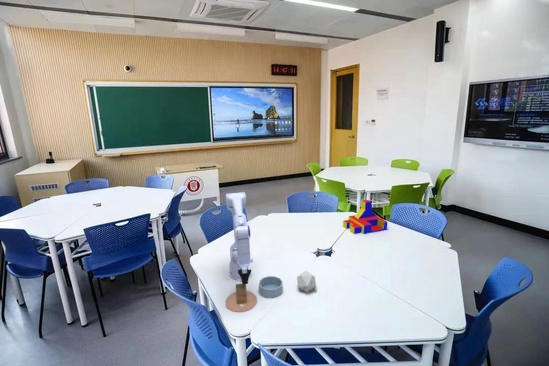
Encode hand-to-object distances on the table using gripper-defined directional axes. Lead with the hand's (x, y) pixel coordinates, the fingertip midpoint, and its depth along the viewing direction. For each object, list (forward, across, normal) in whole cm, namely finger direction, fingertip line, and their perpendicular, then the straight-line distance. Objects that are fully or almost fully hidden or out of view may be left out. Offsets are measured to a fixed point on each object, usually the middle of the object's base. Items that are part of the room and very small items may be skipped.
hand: (244, 278), depth 128 cm
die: (+10, +2, -29) cm, 31 cm away
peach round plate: (+10, -3, +2) cm, 10 cm away
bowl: (+10, +3, -12) cm, 16 cm away
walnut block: (+9, -3, +2) cm, 10 cm away
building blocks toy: (+11, +65, -87) cm, 109 cm away
